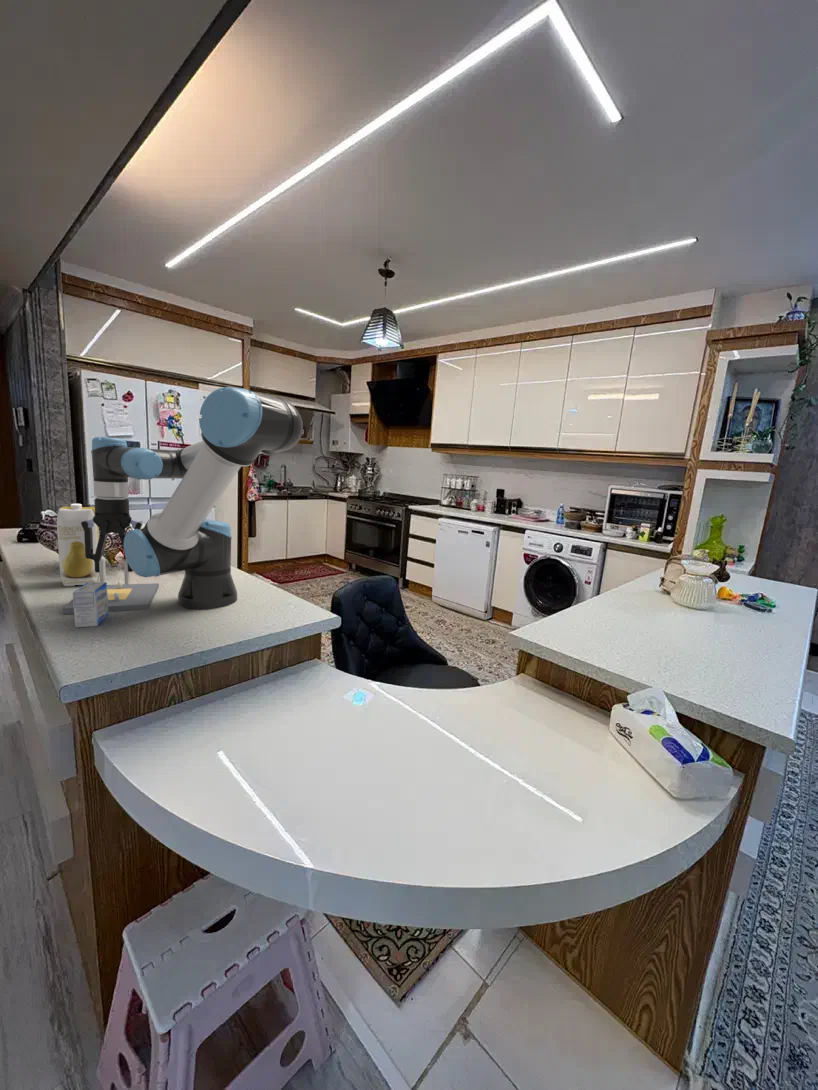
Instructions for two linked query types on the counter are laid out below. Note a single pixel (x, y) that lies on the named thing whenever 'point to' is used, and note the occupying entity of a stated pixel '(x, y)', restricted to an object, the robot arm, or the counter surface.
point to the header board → (125, 597)
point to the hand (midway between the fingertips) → (115, 583)
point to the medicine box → (90, 604)
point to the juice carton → (75, 545)
